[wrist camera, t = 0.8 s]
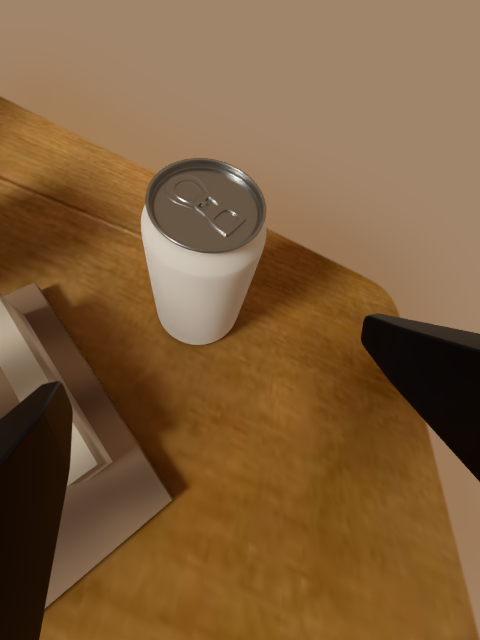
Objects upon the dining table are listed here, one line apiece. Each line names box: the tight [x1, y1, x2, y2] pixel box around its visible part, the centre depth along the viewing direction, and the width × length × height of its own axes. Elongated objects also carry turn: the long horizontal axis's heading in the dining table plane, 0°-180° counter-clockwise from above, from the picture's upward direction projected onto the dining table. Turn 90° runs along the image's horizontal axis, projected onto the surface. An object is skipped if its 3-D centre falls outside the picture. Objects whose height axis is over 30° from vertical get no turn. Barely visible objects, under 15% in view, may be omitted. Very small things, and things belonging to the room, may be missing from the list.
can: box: [141, 158, 266, 345], centre depth 20 cm, size 6×6×12 cm
